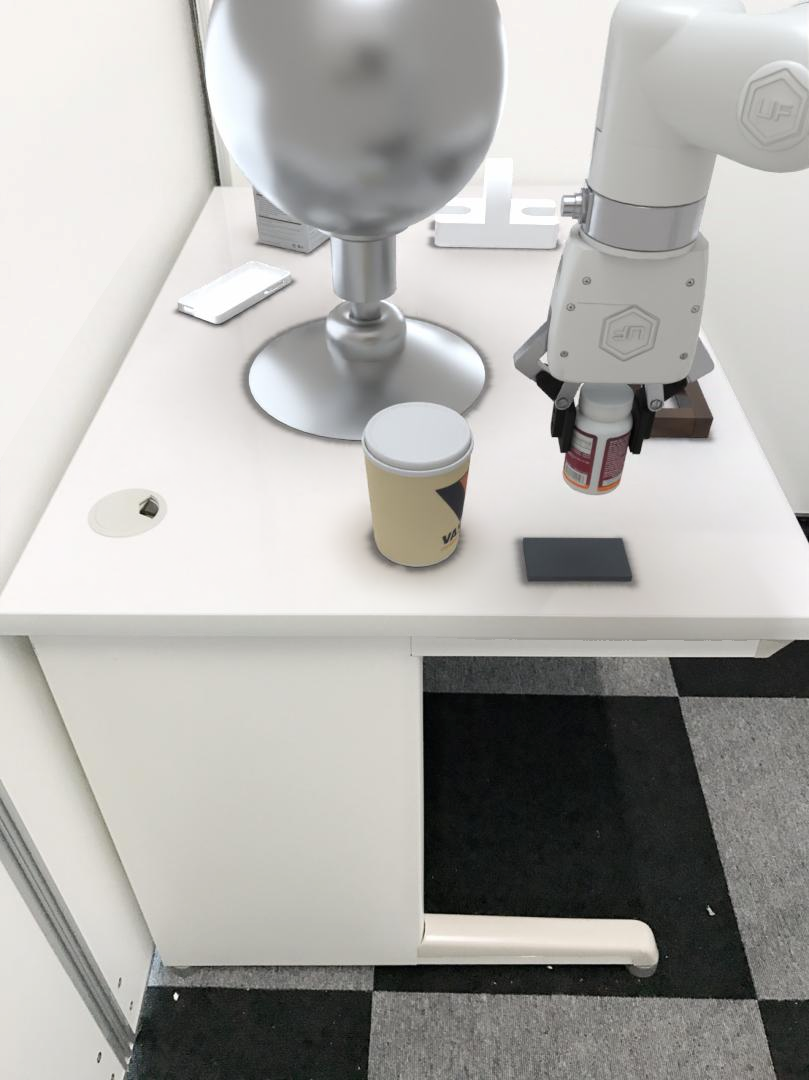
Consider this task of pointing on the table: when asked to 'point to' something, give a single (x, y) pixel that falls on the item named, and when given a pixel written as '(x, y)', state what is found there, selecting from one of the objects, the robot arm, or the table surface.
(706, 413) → the rack
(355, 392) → the silver goblet
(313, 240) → the white product box
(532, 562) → the pad
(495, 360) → the table surface
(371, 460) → the coffee cup
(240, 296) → the phone case
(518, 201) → the white stand
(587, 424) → the pill bottle
